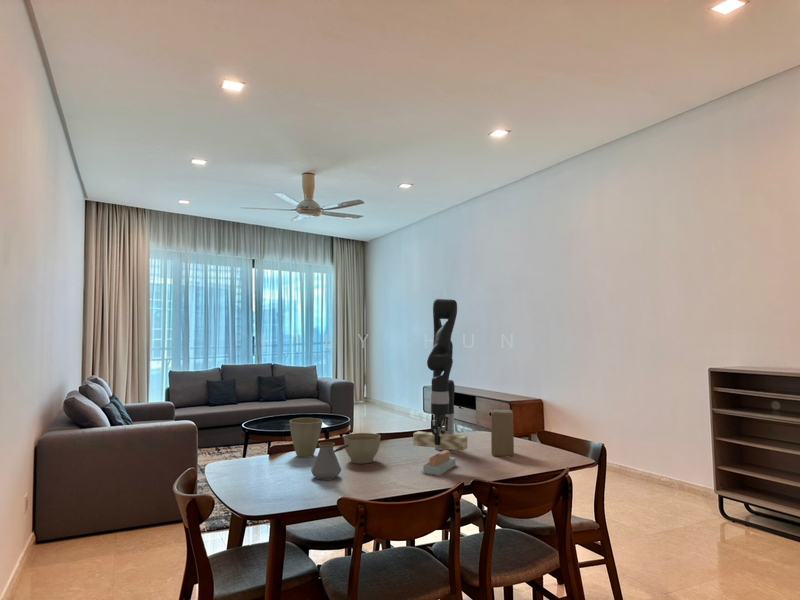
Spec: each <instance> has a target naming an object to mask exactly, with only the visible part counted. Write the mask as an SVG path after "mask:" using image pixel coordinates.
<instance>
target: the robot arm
mask: <svg viewBox="0 0 800 600" xmlns="http://www.w3.org/2000/svg"><path fill="white" fill-rule="evenodd" d="M457 314H458V302H457V301H456V300H455V299H451V298H450V299H447V298H445V299H443V298H436V299H434V301H433V303H432V317H433V318H432V319H433V344H432V346H433V347H432V348H431V351H430V353H429V355H428V356H427V361H426V365H427V368H428V369H429V370H430V371H431V372H432V371H433V373H432V378H431V393H430V413H431V414H432V415H434V418H433V420H432V419H431V421H430V423H431V424H430V425H431V433H432V435H435V445H440V433H443V434H454V435H455V391H456V389H455V387H456V386H455V382H454V381H453V380H452V379H450V374H451V372H452V371H451V370H452V367H453V362H454V361H453V353H454V352H453V351H454V350H453V345H454V344H453V341H452V334H453V331H454V327H455V323H456V319H457ZM441 320H447V321H446V322H445V323H444V324H442V321H441ZM434 449H435V450H438V451H444V450H448V451H453V449H443V448H434Z"/></svg>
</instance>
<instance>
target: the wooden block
mask: <svg viewBox="0 0 800 600" xmlns="http://www.w3.org/2000/svg"><path fill="white" fill-rule="evenodd" d="M490 417H491V418H490V419H491V420H490V422H491V423H490V424H491V425H490V427H491V428H490V429H491V430H490V432H491V434H490V435H491V436H490V438H491V440H490V441H491V445H490V446H491V449H490V450H491V455H492V456H493V457H506V456H511V457H510V458H512V457H514V455H515V453H514V451H515V449H514V448H515V447H514V446H515V444H514V439H515V438H514V437H515V435H514V434H515V433H514V430H515V429H514V412H513V410H512V409H495V408H494V409H492V410H491V411H490Z"/></svg>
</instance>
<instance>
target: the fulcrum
mask: <svg viewBox="0 0 800 600" xmlns="http://www.w3.org/2000/svg"><path fill="white" fill-rule="evenodd" d="M450 451H451V450H441V451H440V452H438V453H436V454H435V455H432V456H431V457H429V462H427V463H425V464H423V466H422V467H423V468H422V470H423V473H422V474H425V473H427V475H432V474H434V475H433V476H441V475H443V474H444V473H446V472H447V471H449V470H451V469H452V468H454V467H455V466H456V457H451V456H450V454H451V452H450ZM442 473H443V474H442Z"/></svg>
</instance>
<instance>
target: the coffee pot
mask: <svg viewBox="0 0 800 600" xmlns="http://www.w3.org/2000/svg"><path fill="white" fill-rule="evenodd" d="M335 445H336V443H335V442H332V441H331V442H330V441H323V442H318V444H317V447H318V448H319V451H318V452H317V455H316V457H315V460H314V463H313V465H312V468H311V473H312V476H314V477H315V479H316V478H317V480H319V479H322V480H321V481H330V480H329V479H332V480H334V478H335V479H336V478H337V477H338V476H339V475H340V473H341V471H342V468H341V465H340V463H339V460H338V457H337V456H336V453H337V452H340V451H343V450H344V449H345V450H346V447H348V446H349V445H342V446H339V447H337V448H336V449H334V448H335V447H334V446H335ZM350 448H351V447H350ZM349 450H350V449H349Z"/></svg>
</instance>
